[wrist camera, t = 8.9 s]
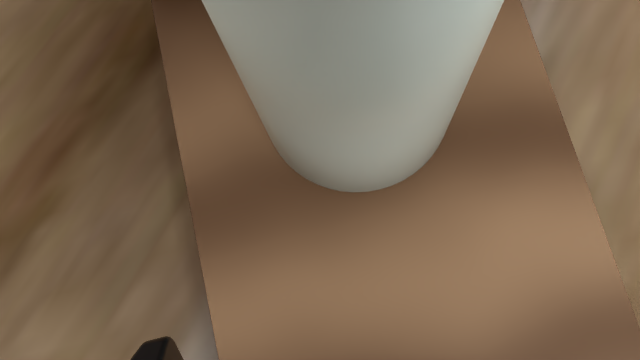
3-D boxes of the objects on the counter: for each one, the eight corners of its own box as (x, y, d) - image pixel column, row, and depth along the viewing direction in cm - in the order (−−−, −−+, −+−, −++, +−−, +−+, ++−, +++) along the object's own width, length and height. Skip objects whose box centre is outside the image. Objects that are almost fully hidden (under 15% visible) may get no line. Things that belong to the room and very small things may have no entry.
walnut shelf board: (650, 461, 18) (809, 541, 12) (275, 552, 18) (228, 680, 12) (461, -79, 23) (500, -231, 16) (166, -3, 23) (91, -124, 16)
